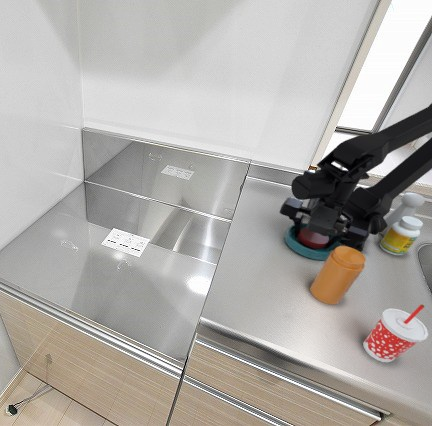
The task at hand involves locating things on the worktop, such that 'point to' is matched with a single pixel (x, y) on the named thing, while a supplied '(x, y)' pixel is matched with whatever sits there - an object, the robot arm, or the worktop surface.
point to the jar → (337, 274)
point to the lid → (312, 238)
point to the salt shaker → (404, 209)
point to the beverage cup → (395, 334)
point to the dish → (306, 250)
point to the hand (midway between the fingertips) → (310, 242)
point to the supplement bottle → (401, 235)
